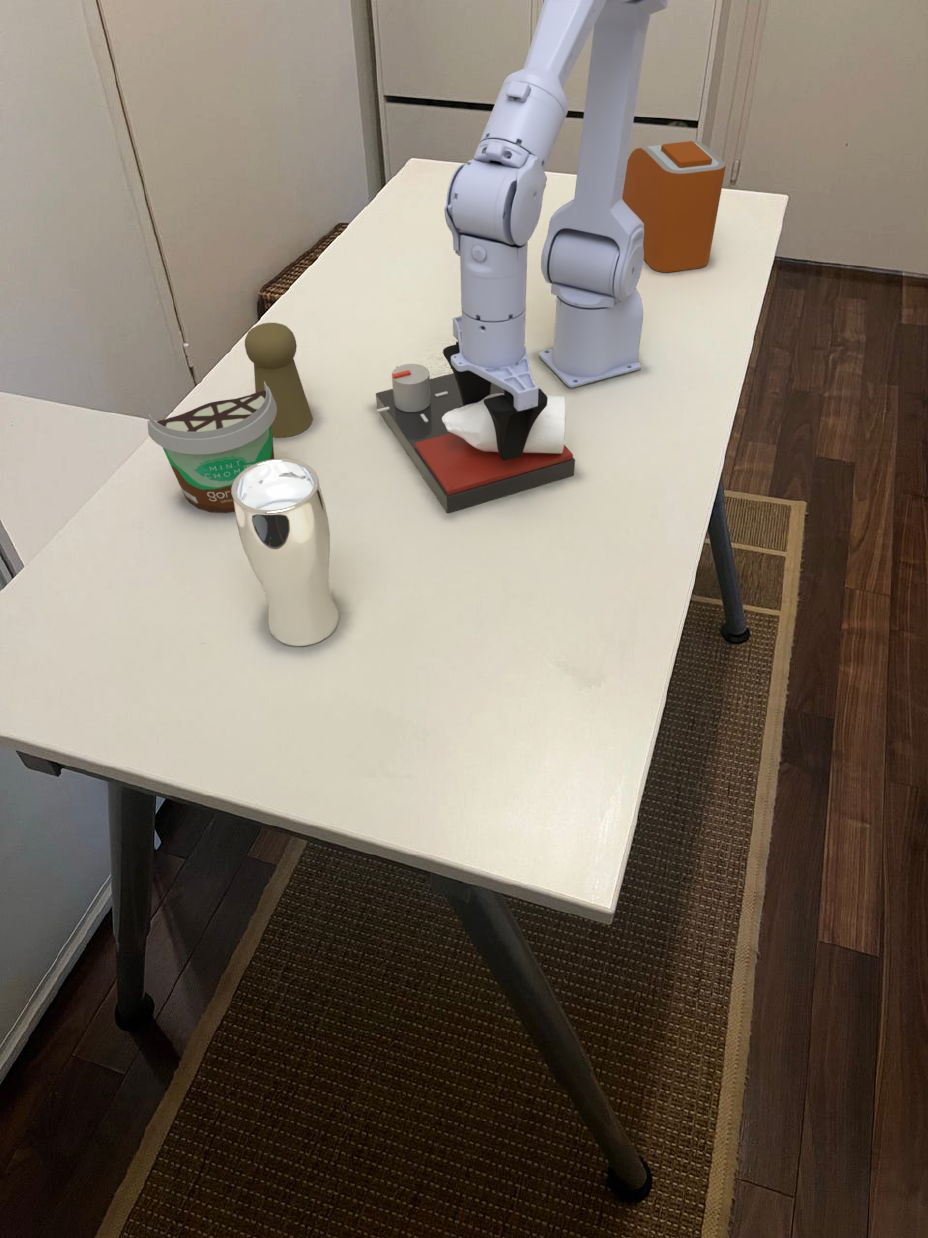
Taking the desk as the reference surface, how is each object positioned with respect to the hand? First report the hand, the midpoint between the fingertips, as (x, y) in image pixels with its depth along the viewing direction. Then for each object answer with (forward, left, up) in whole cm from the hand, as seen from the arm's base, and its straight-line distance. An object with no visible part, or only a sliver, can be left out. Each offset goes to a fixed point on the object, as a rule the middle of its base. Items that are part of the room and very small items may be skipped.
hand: (493, 434), depth 92 cm
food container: (+25, -6, -4) cm, 26 cm away
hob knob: (+4, -12, -2) cm, 13 cm away
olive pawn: (+17, -17, -4) cm, 25 cm away
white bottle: (-1, 0, -2) cm, 2 cm away
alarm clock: (-43, -35, -4) cm, 56 cm away
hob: (0, -5, -4) cm, 7 cm away
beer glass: (+24, +13, -4) cm, 27 cm away
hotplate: (0, 0, -2) cm, 2 cm away
